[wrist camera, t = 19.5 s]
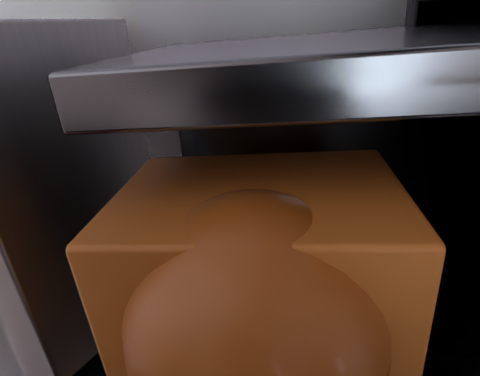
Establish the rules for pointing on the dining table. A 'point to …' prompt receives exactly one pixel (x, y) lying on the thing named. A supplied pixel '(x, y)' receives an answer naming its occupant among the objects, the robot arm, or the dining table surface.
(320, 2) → the dining table surface
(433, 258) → the bread loaf
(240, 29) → the dining table surface
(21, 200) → the grey pull-out drawer
